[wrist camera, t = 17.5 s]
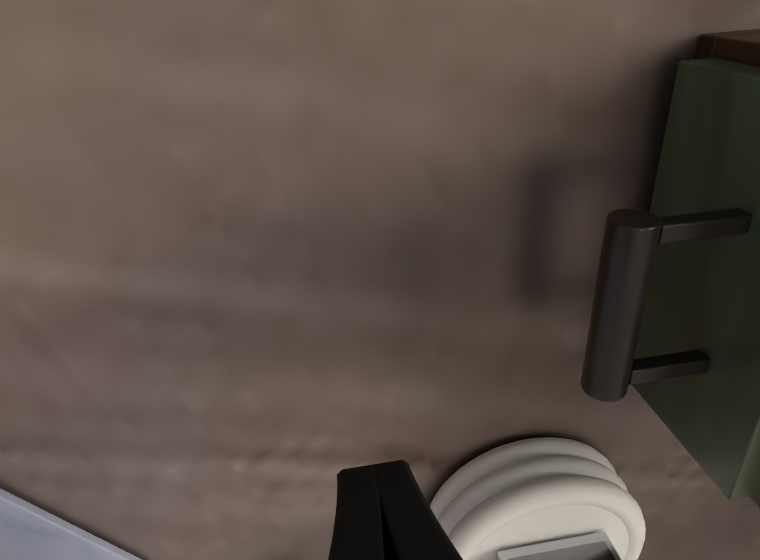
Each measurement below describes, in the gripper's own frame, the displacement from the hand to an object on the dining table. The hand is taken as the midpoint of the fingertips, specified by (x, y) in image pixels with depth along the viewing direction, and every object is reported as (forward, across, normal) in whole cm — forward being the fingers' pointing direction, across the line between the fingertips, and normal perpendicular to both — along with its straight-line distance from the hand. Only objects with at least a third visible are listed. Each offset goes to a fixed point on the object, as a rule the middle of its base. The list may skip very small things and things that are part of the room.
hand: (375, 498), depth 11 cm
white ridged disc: (+11, -8, +15) cm, 20 cm away
